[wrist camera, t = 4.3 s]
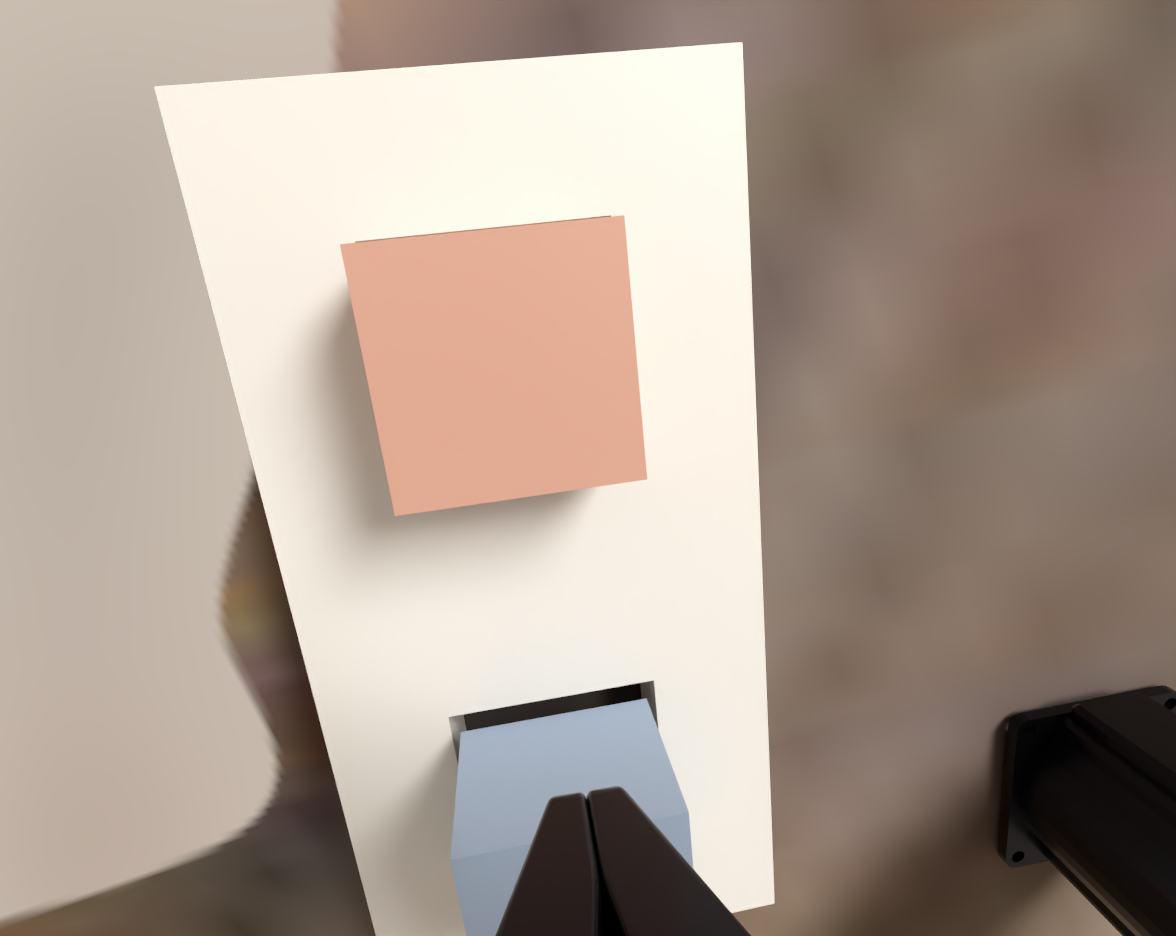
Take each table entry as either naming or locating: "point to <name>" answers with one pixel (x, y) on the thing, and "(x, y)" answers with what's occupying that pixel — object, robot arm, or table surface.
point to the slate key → (550, 793)
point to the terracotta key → (500, 361)
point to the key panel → (516, 526)
